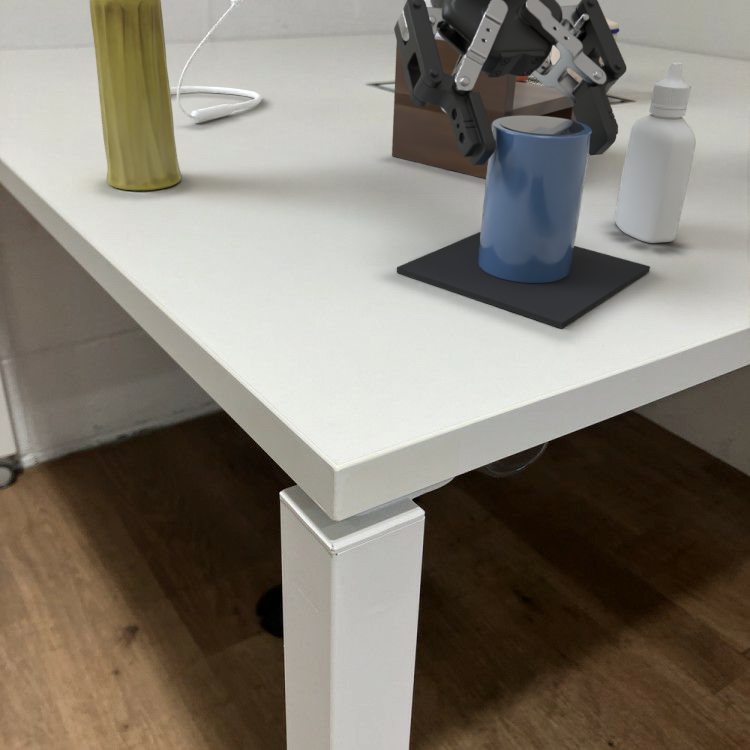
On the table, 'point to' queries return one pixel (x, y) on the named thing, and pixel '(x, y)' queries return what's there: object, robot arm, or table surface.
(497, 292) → the mat
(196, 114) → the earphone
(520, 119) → the cup
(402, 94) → the shelf
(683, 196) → the eye dropper bottle
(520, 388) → the table surface
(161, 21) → the vase
